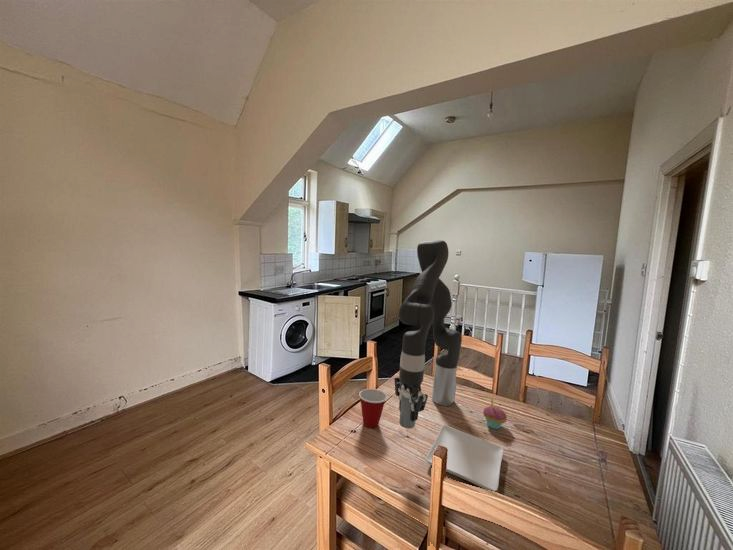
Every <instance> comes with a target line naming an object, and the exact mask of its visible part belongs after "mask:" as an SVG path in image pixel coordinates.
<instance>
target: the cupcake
mask: <svg viewBox="0 0 733 550" xmlns="http://www.w3.org/2000/svg"><path fill="white" fill-rule="evenodd" d="M490 396H491V398H490V400H491V401H490V402H491V405H490V406H486V407H484V409H483V416H484V418H485V420H486V424H487V426H488V427H489V428H490V429H494V430H498V429H500V427H502V424H505V423H506V422H507V419H508V417H507V414H506V412H505V411H504V410H503V409H502V408H499V407H497V406H494V397H493V395H490Z"/></svg>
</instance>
